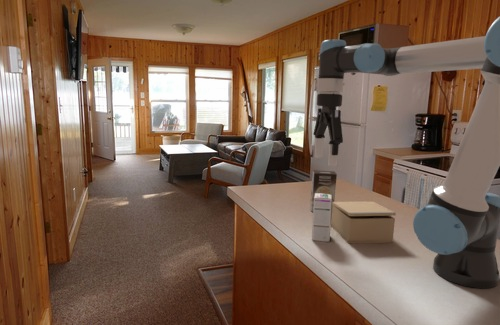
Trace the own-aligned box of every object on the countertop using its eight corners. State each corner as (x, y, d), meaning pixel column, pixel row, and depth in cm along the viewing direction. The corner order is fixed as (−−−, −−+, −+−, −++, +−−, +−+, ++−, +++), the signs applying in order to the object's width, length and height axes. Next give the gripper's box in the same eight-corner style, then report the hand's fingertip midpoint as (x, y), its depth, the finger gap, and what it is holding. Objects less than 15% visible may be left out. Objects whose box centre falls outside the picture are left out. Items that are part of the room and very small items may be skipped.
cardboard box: (392, 242, 117) (394, 218, 115) (348, 243, 115) (350, 219, 113) (370, 224, 132) (372, 203, 131) (331, 225, 130) (332, 204, 129)
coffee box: (311, 211, 146) (313, 173, 143) (310, 207, 152) (312, 169, 149) (334, 213, 145) (336, 174, 142) (332, 208, 151) (334, 170, 148)
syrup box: (329, 242, 115) (332, 198, 113) (311, 240, 117) (313, 197, 114) (329, 235, 121) (332, 193, 118) (311, 233, 122) (314, 192, 119)
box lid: (395, 215, 115) (395, 212, 115) (350, 216, 113) (350, 213, 113) (372, 203, 131) (372, 201, 131) (332, 204, 129) (332, 201, 129)
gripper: (358, 93, 99) (352, 169, 103) (328, 93, 123) (323, 154, 127) (332, 92, 98) (326, 169, 102) (306, 92, 122) (303, 154, 126)
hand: (325, 161), depth 114 cm, fingers open, 13 cm apart
